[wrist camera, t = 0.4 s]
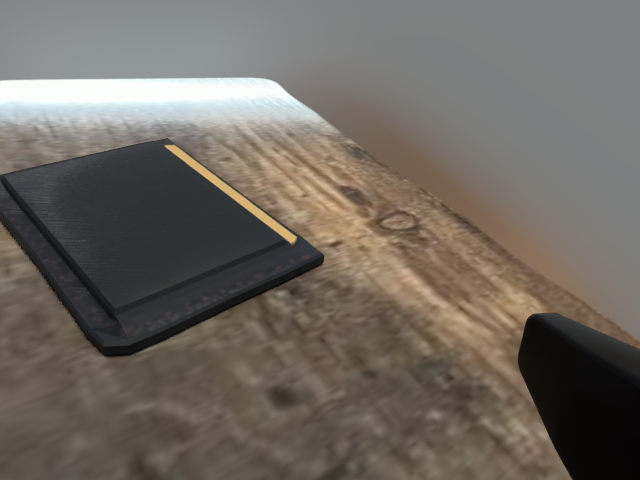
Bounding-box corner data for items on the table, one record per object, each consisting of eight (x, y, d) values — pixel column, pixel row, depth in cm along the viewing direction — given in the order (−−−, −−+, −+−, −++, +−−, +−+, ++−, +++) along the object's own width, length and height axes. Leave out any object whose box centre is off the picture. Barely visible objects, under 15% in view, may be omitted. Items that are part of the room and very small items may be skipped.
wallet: (-29, 164, 38) (174, 123, 47) (-23, 188, 39) (174, 144, 48) (93, 342, 27) (331, 244, 36) (97, 369, 28) (328, 267, 37)
